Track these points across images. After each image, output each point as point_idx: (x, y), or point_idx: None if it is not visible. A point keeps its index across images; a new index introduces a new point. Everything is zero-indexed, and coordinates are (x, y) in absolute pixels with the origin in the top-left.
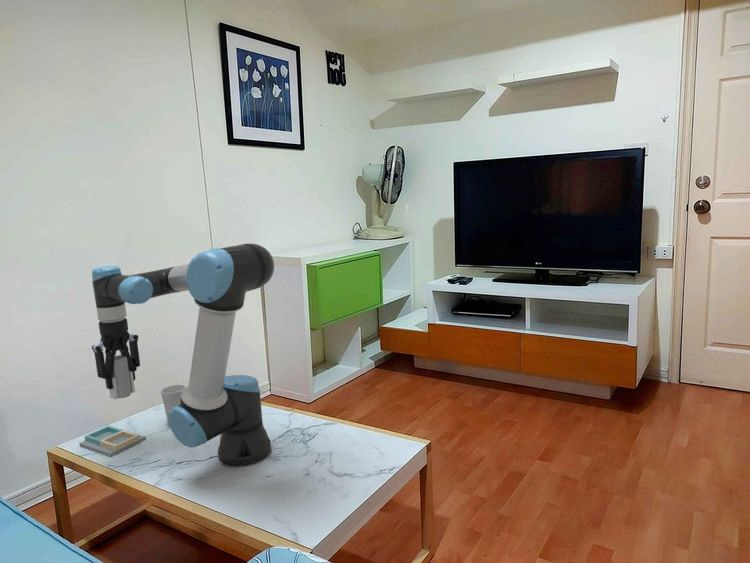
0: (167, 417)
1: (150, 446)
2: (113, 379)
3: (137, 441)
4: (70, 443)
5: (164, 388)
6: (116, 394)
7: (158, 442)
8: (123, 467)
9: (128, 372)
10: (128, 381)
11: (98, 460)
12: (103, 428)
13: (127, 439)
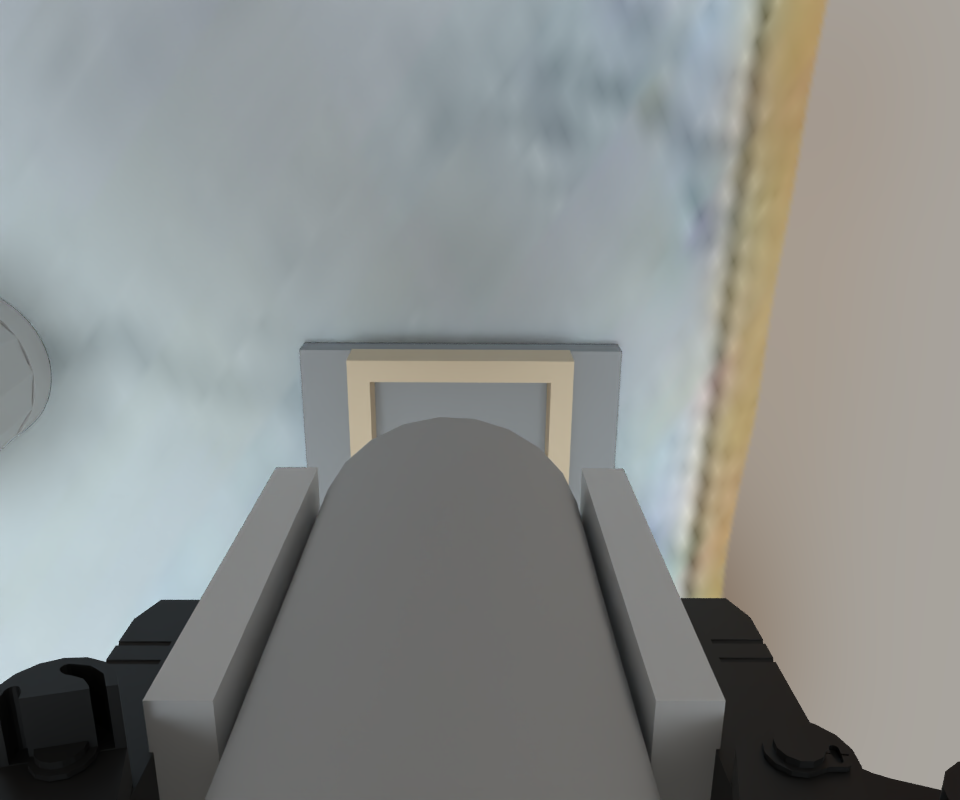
0: (11, 413)
1: (359, 200)
2: (710, 682)
3: (378, 347)
4: None
5: None
6: (617, 501)
7: (280, 198)
8: (692, 85)
9: (284, 678)
10: (371, 532)
11: (687, 382)
12: None
13: (449, 380)
